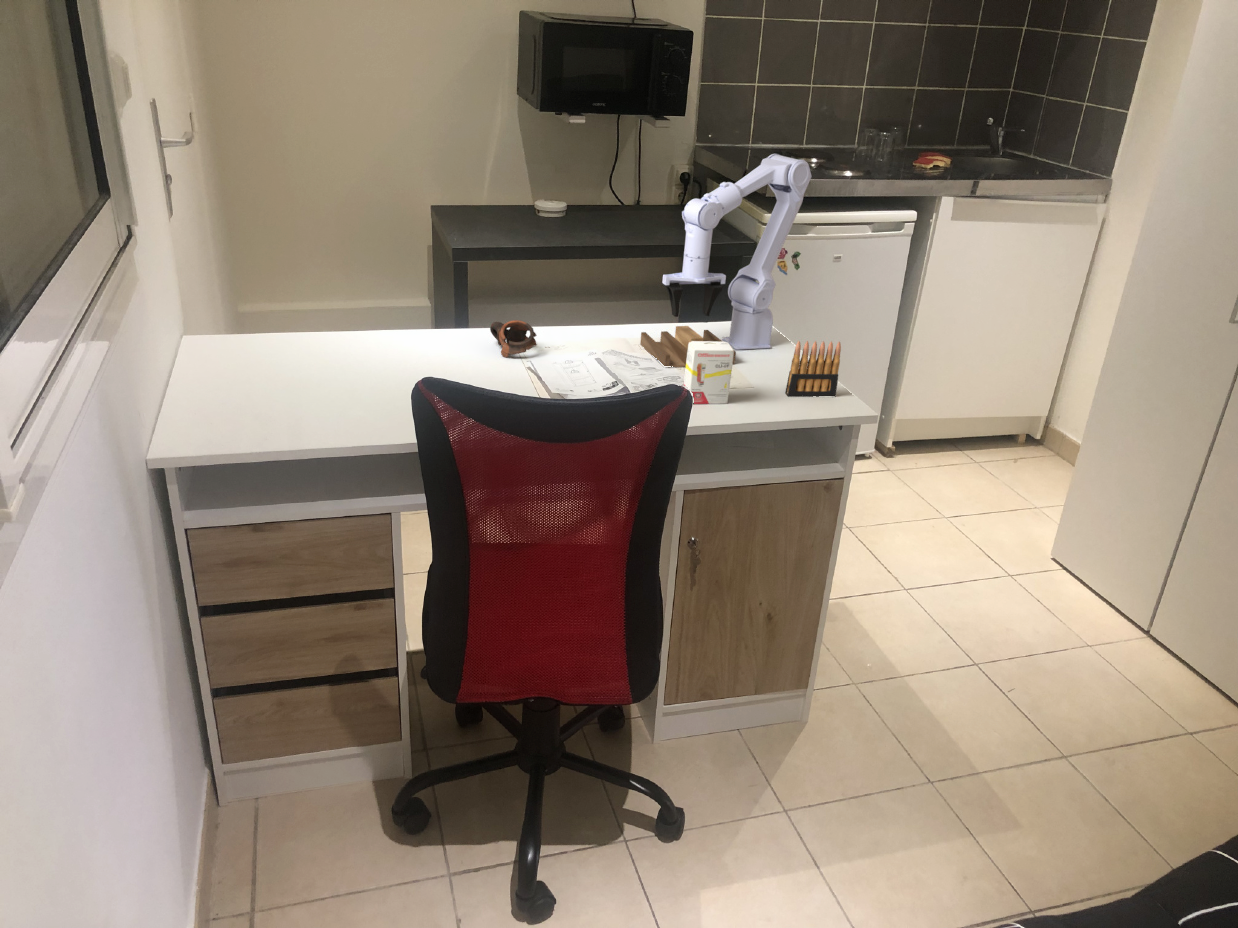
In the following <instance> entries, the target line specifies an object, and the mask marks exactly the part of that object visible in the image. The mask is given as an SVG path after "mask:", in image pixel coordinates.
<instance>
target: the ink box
mask: <svg viewBox="0 0 1238 928" xmlns="http://www.w3.org/2000/svg"><path fill="white" fill-rule="evenodd" d="M734 351H735V349H734V348H733V347H732V346H730V344H729V343H728V342H725V341H723V342H717V341H715V342H714V341H691V342H689V344H688V352H687V360H686V367H684V369H685V370H684V377H683V385H684V386H686V387H688V389H690V390H691V392H692V393H693V397H694V404H693V405H721V404H723V405H726V404H728V401H729V393H730V385H731V379H732V372H733V371H732V369H733V365H734V364H733V356H734ZM732 364H733V365H732Z"/></svg>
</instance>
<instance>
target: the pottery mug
mask: <svg viewBox="0 0 1238 928" xmlns="http://www.w3.org/2000/svg"><path fill="white" fill-rule="evenodd" d="M489 330H490V333H491V334H492V336H493V337H494V338H495V340H496V341H497V344H498V346H502V347H501V351H500V355H501V356H502V357H504V358H505V359H506V358H508V357H509V356H511V355H512V356H513V355H517V354H522V353H526V352H527V351H530V350H531V348H533V347H535V346H537V345H538V344H537V340H536V338H535V337H537V333H536V332H535V330H534V328H533V327H532V326H531V324H529V323H527V322H525V321H522V320H518V319H515V320H509V321H507V322H505V323H502V322H501V321H493V322H492V323H491V325H490V327H489ZM528 331H529V333H530V334H529V337H528V335H527V333H528Z"/></svg>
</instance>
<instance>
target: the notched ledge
mask: <svg viewBox="0 0 1238 928" xmlns="http://www.w3.org/2000/svg"><path fill="white" fill-rule="evenodd" d="M702 337H703V341H714V342H715V341H717V342H724V340H722V339H720V338H719V337H718V336H716V335H715V334H713V332H711V331H710V330H709V329H703V336H702ZM659 339H660V340H659V341H656V340H655V339H653V338H652V337H651V336H650V335H649V334H648V333H647V332H646V331H642V332H641V333H640V346H641V348H643V347H644V348H643V349H644V350H645V351H647V352H648V353H649V354H650V355H651V356H652V355H653V356H654V357H655V358H657V360H659V361H660V362H661V363H662V364H663V365H664V366H671V367H672V366H673V367H675V368H686V360H687V352H688V349H687V348H686V347H685V346H683V345H682V344H681V343H680V342H679V341H678V340H677V339H675V336H673V335H672V334H671V333H670V332H669V331H665V330H664V331H661V332H660V338H659ZM736 354H737V351H736V350H734V356H733V364H732V366H733V365H735V361H736ZM653 356H652V357H653ZM654 357H653V358H654ZM655 358H654V359H655ZM657 360H656V361H657Z"/></svg>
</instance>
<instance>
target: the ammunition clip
mask: <svg viewBox="0 0 1238 928" xmlns="http://www.w3.org/2000/svg"><path fill="white" fill-rule="evenodd" d="M809 344H810V343H809V341H808V340H807V341H806V342H805V344H804V345H803V349H802V354H801V341H800V340H797V343H796V345H795V348H794V352H793V356H792V359H791V365H790V370H789V372H788V373H789V374H788V378H787V383H786V387H785V392H784V394H785V395H786V397H788V398H789V397H790V398H792V397H793V398H796V397H798V398H799V397H800V398H801V397H802V398H806V397H807V398H810V397H811V398H814V397H813V396H816V397H815V398H820V397H819V396H835V395H836V396H837V389H838V382H839V369H840V362H841V359H840V358H841V351H842V348H841V347H842V346H841V342H840V341H838V342H837V344H836V346H835V349H834V345H833V344H834V343H833V341H832V340H831V341H830V342H829V344H828V346H827V350H826V344H825V341H821V343H820V346H819V349H818V344H817V341H816V340H815V341H814V342H813V344H812V347H811V349H810V345H809ZM809 350H810V353H809ZM825 351H826V352H825ZM817 352H818V354H817ZM833 352H834V353H833ZM825 353H826V354H825ZM800 357H801V358H800ZM836 396H835V397H836Z"/></svg>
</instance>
